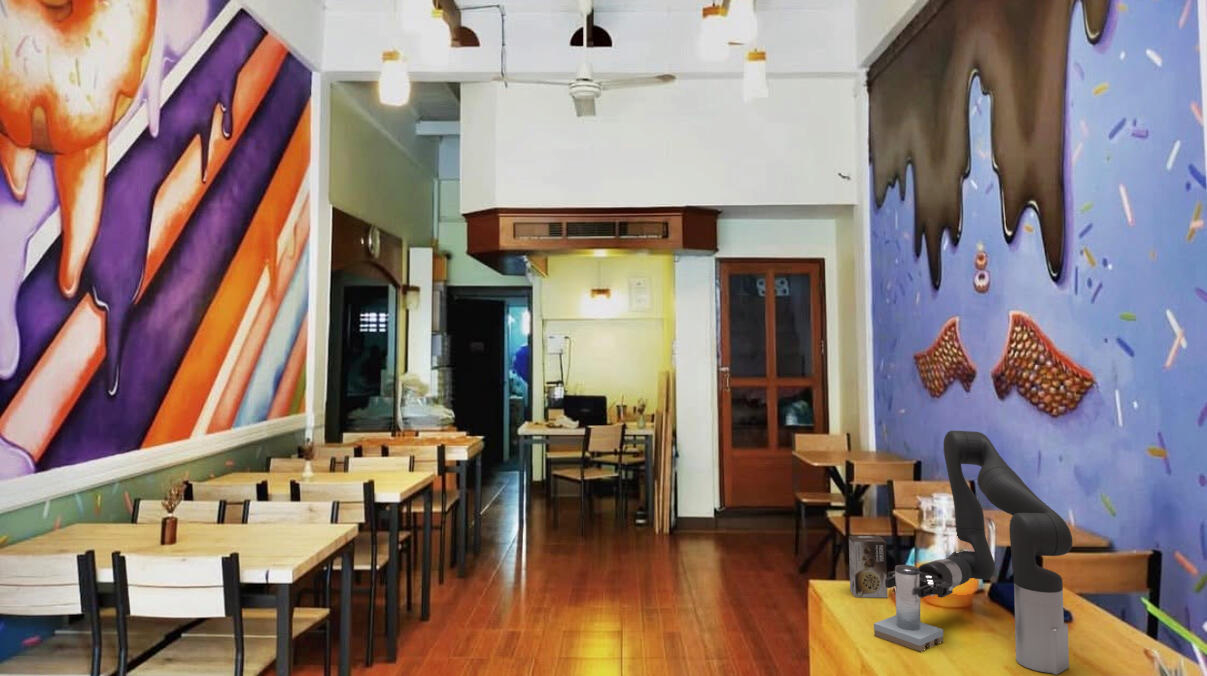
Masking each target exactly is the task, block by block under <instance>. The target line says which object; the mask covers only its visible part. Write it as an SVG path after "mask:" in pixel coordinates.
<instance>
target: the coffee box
mask: <svg viewBox="0 0 1207 676" xmlns="http://www.w3.org/2000/svg"><path fill="white" fill-rule="evenodd" d="M886 543H887V542H886V541H885V539H883V537H881V536H880V535H848V550H849V551H848V554H849V555H848V557H849V590H850V592H851V593H852V595H853V596H854V597H855V598H875V599H877V598H879V599H880V598H883V599H884V598H888V588H886V585H885V579H887V578H888V572H887V549H886V548H887V545H886Z"/></svg>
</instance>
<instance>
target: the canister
mask: <svg viewBox="0 0 1207 676" xmlns="http://www.w3.org/2000/svg"><path fill="white" fill-rule="evenodd" d="M894 571H895V582H896V586H895V615H896V625H897V626H898V627H899V628H901V629H905V630H911V631H915V630H919V629H921V622H922V621H921V598H920V597H918V588H920V577H919V573H920V569H919V567H917V566H914V565H909V564H897V565H895V566H894Z"/></svg>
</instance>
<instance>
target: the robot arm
mask: <svg viewBox="0 0 1207 676" xmlns="http://www.w3.org/2000/svg"><path fill="white" fill-rule="evenodd" d="M943 439H944V440H943V455H944V460H945V466H946V470H947V475H948V477H947V478H948V480H949V485H950V489H951V495H952V499H953V505H954V507H953V508H954V521H955V533H956V532H957V535H956V537H957V536H958V538H959V539H960V540H959V539H958V538H957V539H958V540H959V541H961V542H965V543H969V544H970V545H971V547H972V549H973V551H970V550H962V551H963V552H959V553H956V551H953V552H952V553H951V554H950V555H949V556H948V557H947V558H940V559H935V560H933V561H930V562H927V563H923V564H921V565H920V566H919V567H918V568H919V569H920V573H919V577H920V588H918V597H920V599H923V598H925V597H928V596H930V597H934V596H935V595H936V596H937V598H939V599H940V598H941V599H942V598H944V597H946V596H949V595H951V594H953V589H954V588H956V587H958V586H961V585H964V584H965V583H967V582H969V580H970V579H972V578H974V579H975V580H982V581H983V580H984V581H987V580H990V579H992V578H993V577H994V575H995V572H996V564H995V560H994V557H993V554H992V552H991V550H990V546H989V543H988V540H987V537H986V536H987V535H986V527H985V526H986V525H985V515H984V509H983V506H982V505H981V503H980V501H979V499H978V498H977V496H976V494H975V493H974V492H973V490H972V489H971V487H970V486H969V484H968V482H967V480H966V479H965V477H964V473H963V470H962V469H963V468H962V465H974V466H978V467H979V466H980V467H981V468H980V470H979V472H978V474H977V485H978V487H979V490H980V491H981V492H982V493H983V495H984V496H985V497H986V499H987V500H988V501H989V503H990V504H992V505H993V506H994V507H996V508H997V509H999V510H1000V511H1002V512H1005V513H1007V514H1008V515H1011V518H1010V521H1009V542H1010V543H1009V544H1010V554H1011V568H1012V573H1013V586H1014V587H1013V588H1014V589H1013V590H1014V593H1013V594H1014V631H1015V634H1014V636H1015V638H1014V639H1015V660H1016V662H1017V663H1018V664H1019V665H1021V666H1022V667H1025V668H1027V669H1030V670H1033V671H1037V672H1040V673H1041V672H1042V673H1048V674H1053V675H1056V676H1057V675H1059V674H1061V673H1062V672H1064V671H1065V670H1068V669H1069V668H1070V664H1069V663H1070V659H1069V658H1070V657H1069V625H1068V624H1067V623H1065V621H1064V620H1065V619H1064V590H1063V589H1064V585H1063V578H1062V576H1061V575H1060V574H1059V573H1057V572H1055V571H1053V570H1050V569H1047V568H1044V567H1042V566H1039V565H1038V564H1037V560H1036V557H1037V556H1038V557H1059V556H1064V555H1066V554H1068V553H1069V552H1070V551H1071V549H1072V548H1073V543H1074V542H1073V536H1072V533H1071V530H1070V528H1069V526H1068V524H1067V522H1065V520H1064V519H1063V518H1062V516H1061V515H1060V514H1058V513H1057V512H1056V511H1055V510H1054V509H1052V508H1051V506H1049V505H1047V504H1046V503H1045V502H1044V501H1043V500H1042V499H1040V497H1039V496H1037V495H1036V494H1035V492H1034V491H1033V490H1032V489H1030V487H1028V485H1027V484H1025V482H1024V481H1023V480H1022V478H1021V477H1020V476H1019V475H1018V474H1017V473H1016V471H1014V470H1013V469H1012V468H1011V467H1010V465H1008V463H1007V462H1006V461H1005V460H1004V459H1003V457H1002V456H1001V455H1000V454H999V451H997V449H996V448H995V446H994V444H993V443H992V441H991V440H990V439H989V438H988V436H987V435H986V434H984V433H983V432H981V431H980V432H979V431H971V430H967V431H966V430H949V431H947V432H946V433H945V435H944V438H943ZM885 585H886V588H887V589H891V588H896V582H895V570H892V571H888V572H887V579H885Z"/></svg>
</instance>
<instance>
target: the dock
mask: <svg viewBox="0 0 1207 676" xmlns="http://www.w3.org/2000/svg"><path fill="white" fill-rule="evenodd" d="M873 631H874V636H875V637H878V638H881V639H882V640H886V641H889V642H892V643H894V644H897V645H899V646H902V645H903V646H902V647H905V646H907V647H906V648H908V647H910V648H909V649H911V648H913V649H916V650H919V651H922V650H924V649H925V650H926V647H925V646H928V647H931V648H933V647H932V646H934V647H935V644H936V643H938V644H937V645H940V644H941V643H940V642H943V643H944V629H943V628H939V627H937V626H934V625H930V624H928V623H924V622H922V621H921V629H919V630H915V631H911V630H905V629H901V628H899V627H898V626H897V625H896V614H895V615H892V616H890V617H887V618H885V619H882V620H879V621H876V622H875V623H873ZM934 642H935V643H934ZM939 643H940V644H939ZM928 647H927V648H928ZM913 649H912V650H913ZM916 650H915V651H916ZM925 650H924V651H925ZM919 651H918V652H919ZM922 652H923V651H922Z"/></svg>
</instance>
